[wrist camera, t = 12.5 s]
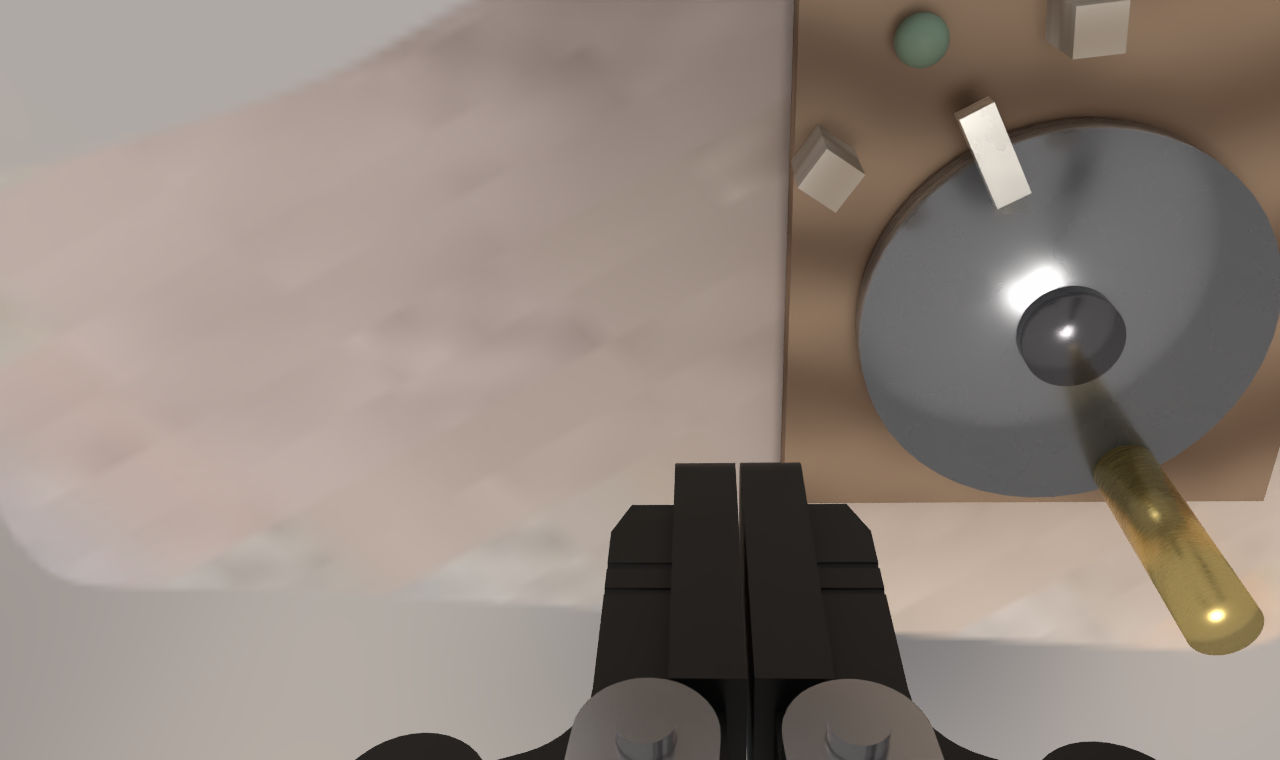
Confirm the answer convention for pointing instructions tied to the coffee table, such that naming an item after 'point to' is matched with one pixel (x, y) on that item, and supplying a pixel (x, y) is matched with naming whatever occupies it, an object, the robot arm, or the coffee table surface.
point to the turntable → (931, 139)
